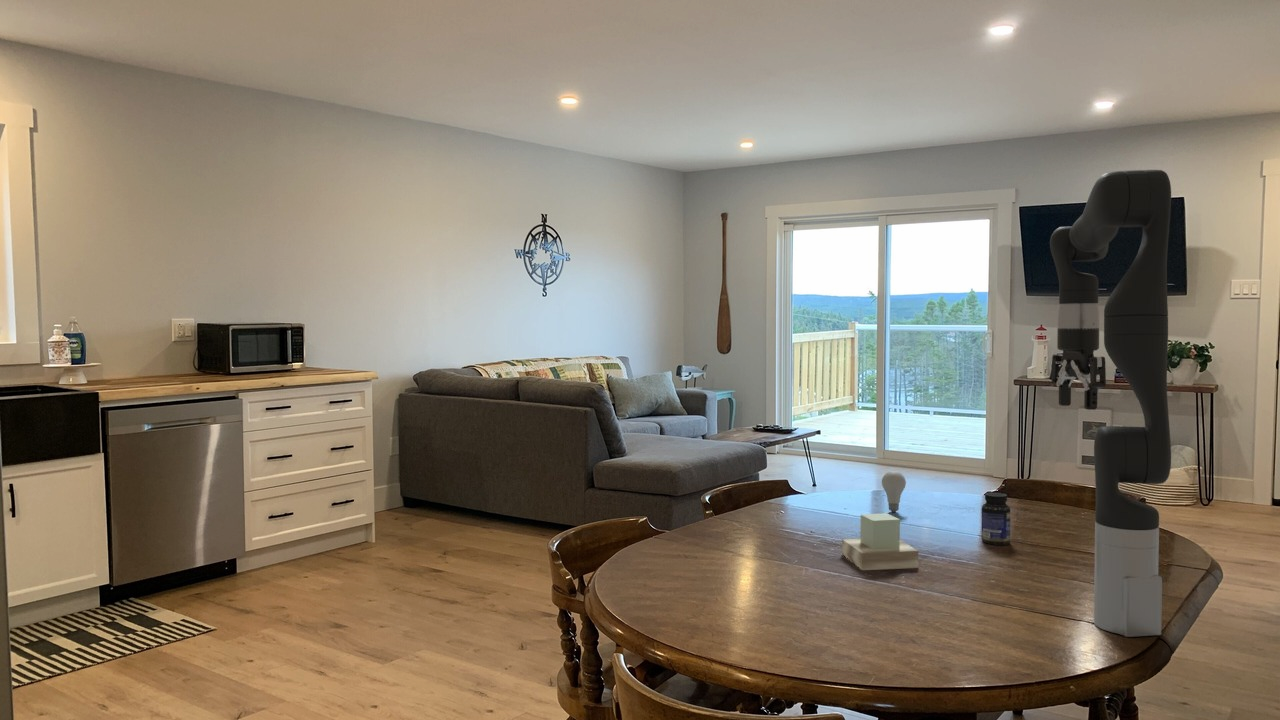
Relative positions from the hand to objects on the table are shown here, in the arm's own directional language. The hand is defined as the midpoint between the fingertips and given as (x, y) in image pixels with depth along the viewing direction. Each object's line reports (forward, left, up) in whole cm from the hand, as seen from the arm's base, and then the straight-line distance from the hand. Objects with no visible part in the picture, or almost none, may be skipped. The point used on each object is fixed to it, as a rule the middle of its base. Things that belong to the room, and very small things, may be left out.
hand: (1077, 407), depth 180 cm
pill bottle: (+24, +4, -33) cm, 41 cm away
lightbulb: (+58, +14, -33) cm, 68 cm away
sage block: (+13, +36, -30) cm, 48 cm away
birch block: (+13, +36, -34) cm, 51 cm away
